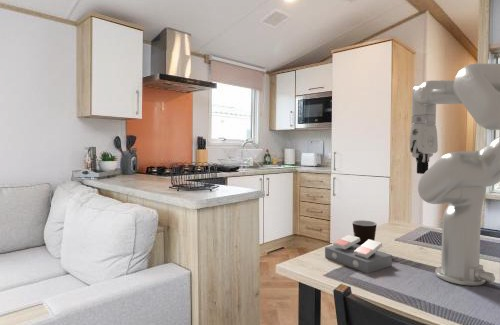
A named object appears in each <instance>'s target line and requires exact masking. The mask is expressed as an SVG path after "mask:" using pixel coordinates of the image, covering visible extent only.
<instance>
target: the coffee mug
mask: <svg viewBox="0 0 500 325" xmlns="http://www.w3.org/2000/svg"><path fill="white" fill-rule="evenodd" d="M377 226H378V225H377V222H376V221H370V220H365V219H364V220H363V219H362V220H360V219H359V220H353V221H352V228H353V229H352V230H353V236H355V237H359V238H360V241H359V242H358V243H356V244H357V245H362V244H363V243H365V242H366V241H367V240H368V239H370V240H373V241H376V240H375V238H376V232H377Z"/></svg>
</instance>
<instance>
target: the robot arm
mask: <svg viewBox="0 0 500 325" xmlns="http://www.w3.org/2000/svg"><path fill="white" fill-rule="evenodd" d="M458 104H459V105H460V104H461V105H463V106H464V108H465V109H466V110H467V112H468V113H469V115H471V118H473V120H474V122H476V124H478V126H480V127H481V128H483V129H485V130H489V131H491V130H492V131H500V63H470V64H467V65H466V66H463V67H462V68H461V69H460V70H459V71H458V72H457V74H456V76H455V77H454V80H447V79H446V80H443V79H442V80H427V81H424V82H422V84H419V85H415V86H414V87H413V88H412V90H411V129H410V136H409V151H410V153H411V154H412V155H411V156H412V157H413V158H415V163H416V174H418V175H419V174H420V175H421V177H420V179H419V180H418V184H417V191H418V196H419V197H420V198H421V199H422V201H423V202H426V203H427V204H432V205H447V207H446V208H445V210H444V212H443V214H442V222H441V224H442V226H441V227H442V228H441V258H440V260H441V262H440V264H441V266H438V267H436V268H435V273H434V274H435V275H436V276H437V277H438V278H439V279H441V280H443V281H446V282H449V283H452V284H457V285H461V286H470V287H471V286H481V285H484V284H486V282H489V283H495V280H496V276H495V274H494V273H493V272H489V271H485V269H484V265H483V264H480V255H481V254H480V252H481V228H482V210H483V205H484V201H485V197H486V194H487V188H488V187H492V186H495V185H496V184H498V183H500V136H498V137H496V138H494V139H493V140H492V141H491V142H490V143H489V144H487V145H486V146H485V147H483V148H482V149H479V150H472V151H471V150H469V151H466V150H465V151H452V152H448V153H445V154H444V155H442V156H440V157H439V158H438V159H437V160H436V161H435V162H434V163H433V164H432V165H430V167H429V163H430V159H431V158H432V157H433V155H434V154H437V152H438V142H439V141H438V130H437V125H436V124H437V123H436V122H437V119H436V118H437V105H458Z"/></svg>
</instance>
